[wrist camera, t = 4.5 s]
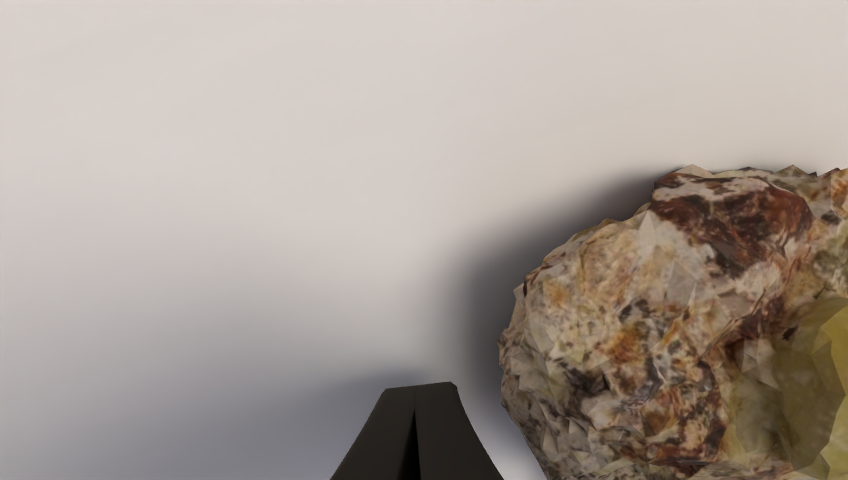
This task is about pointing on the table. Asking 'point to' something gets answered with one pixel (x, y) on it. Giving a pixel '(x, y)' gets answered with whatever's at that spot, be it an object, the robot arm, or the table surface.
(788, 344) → the mineral rock
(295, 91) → the table surface
